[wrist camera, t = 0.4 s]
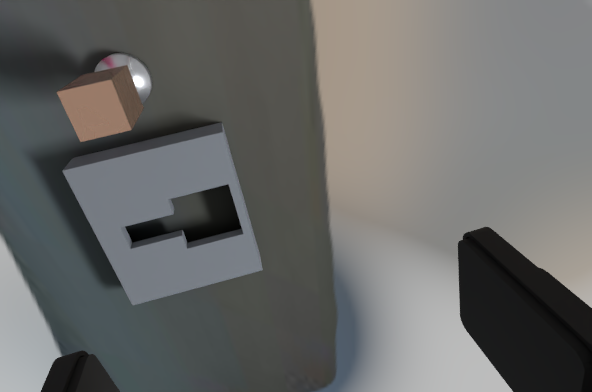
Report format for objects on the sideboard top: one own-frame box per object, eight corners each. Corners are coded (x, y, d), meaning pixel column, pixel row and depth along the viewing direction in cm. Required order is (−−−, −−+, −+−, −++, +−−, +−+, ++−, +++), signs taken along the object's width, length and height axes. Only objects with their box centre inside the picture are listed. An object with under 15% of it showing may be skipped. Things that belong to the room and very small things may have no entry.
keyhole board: (72, 158, 39) (62, 170, 37) (221, 122, 41) (222, 132, 38) (137, 286, 48) (132, 305, 45) (259, 253, 49) (262, 270, 46)
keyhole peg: (87, 59, 36) (43, 85, 26) (141, 47, 36) (116, 68, 26) (109, 110, 38) (75, 151, 28) (159, 99, 38) (143, 135, 29)
